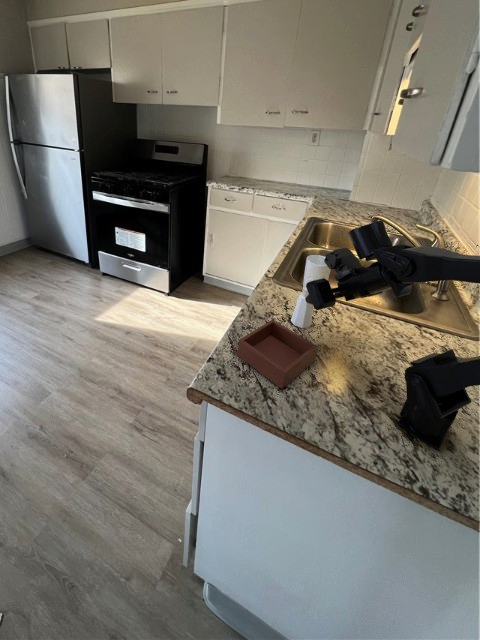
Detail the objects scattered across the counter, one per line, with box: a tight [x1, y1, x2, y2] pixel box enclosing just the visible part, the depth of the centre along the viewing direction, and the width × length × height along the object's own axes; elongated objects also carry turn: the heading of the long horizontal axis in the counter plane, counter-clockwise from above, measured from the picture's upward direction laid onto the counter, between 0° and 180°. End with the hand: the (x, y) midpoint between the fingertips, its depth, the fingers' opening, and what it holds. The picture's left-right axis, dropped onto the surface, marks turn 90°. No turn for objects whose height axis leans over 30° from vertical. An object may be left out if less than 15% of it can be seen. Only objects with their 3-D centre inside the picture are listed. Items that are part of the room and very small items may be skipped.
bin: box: [236, 319, 319, 390], centre depth 72 cm, size 13×13×5 cm
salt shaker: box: [290, 286, 314, 329], centre depth 84 cm, size 5×5×11 cm
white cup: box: [302, 254, 332, 287], centre depth 101 cm, size 8×8×10 cm
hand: (320, 296), depth 77 cm, fingers open, 9 cm apart
